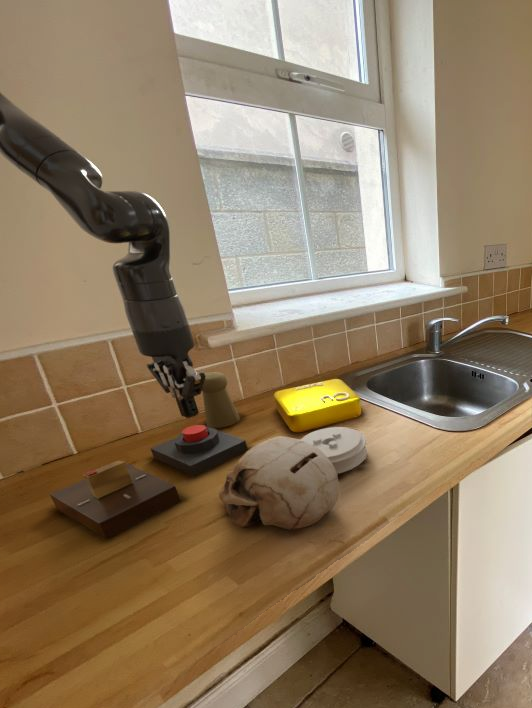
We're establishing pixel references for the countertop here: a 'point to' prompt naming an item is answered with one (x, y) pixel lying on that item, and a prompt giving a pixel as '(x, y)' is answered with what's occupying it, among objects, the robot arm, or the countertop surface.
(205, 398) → the cork
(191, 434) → the bell button
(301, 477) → the coin bank
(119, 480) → the lock knob
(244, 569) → the countertop surface
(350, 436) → the lid
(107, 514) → the plate
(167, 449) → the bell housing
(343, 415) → the element tile
